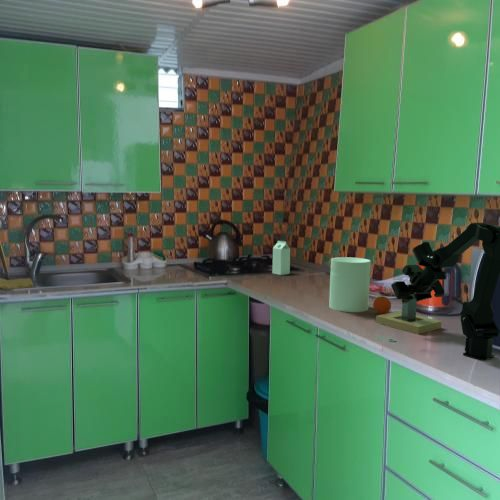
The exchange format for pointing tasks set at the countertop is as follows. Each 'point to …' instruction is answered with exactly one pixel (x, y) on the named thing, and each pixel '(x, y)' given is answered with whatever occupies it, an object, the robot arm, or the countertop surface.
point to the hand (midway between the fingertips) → (407, 302)
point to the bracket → (409, 310)
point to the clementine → (382, 305)
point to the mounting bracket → (385, 338)
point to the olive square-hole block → (409, 323)
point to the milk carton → (281, 258)
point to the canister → (349, 284)
